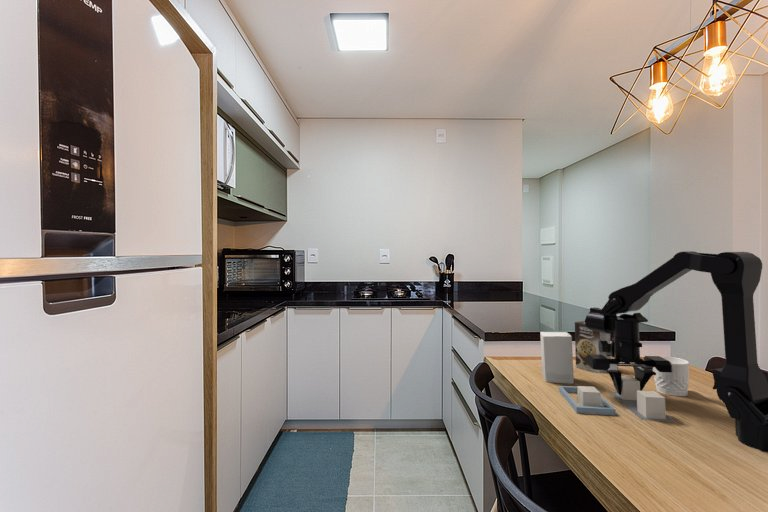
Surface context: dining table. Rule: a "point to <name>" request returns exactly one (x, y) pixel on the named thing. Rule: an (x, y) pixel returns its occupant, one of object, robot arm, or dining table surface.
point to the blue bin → (604, 410)
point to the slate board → (633, 408)
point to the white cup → (673, 378)
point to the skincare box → (557, 357)
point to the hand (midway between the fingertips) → (628, 394)
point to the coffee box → (588, 345)
